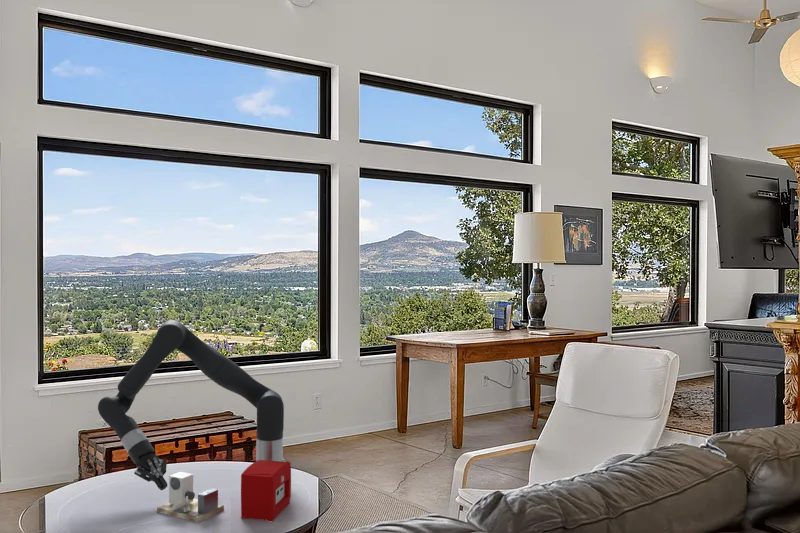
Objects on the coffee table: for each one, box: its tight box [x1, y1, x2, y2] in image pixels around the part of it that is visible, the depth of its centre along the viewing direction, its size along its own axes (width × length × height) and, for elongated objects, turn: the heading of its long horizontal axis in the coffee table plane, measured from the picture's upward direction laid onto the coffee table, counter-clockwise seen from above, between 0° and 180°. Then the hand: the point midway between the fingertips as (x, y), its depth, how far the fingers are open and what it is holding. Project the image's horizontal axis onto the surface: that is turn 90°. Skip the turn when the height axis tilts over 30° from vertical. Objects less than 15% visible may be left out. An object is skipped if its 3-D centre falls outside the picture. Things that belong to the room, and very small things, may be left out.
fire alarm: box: [240, 460, 292, 522], centre depth 240 cm, size 16×11×15 cm
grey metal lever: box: [184, 496, 190, 512], centre depth 234 cm, size 1×2×5 cm, turn 152°
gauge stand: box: [156, 497, 225, 523], centre depth 240 cm, size 17×12×2 cm
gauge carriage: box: [168, 471, 196, 510], centre depth 239 cm, size 8×8×9 cm
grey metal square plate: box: [197, 487, 219, 514], centre depth 236 cm, size 2×6×6 cm, turn 153°
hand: (164, 488), depth 245 cm, fingers closed
